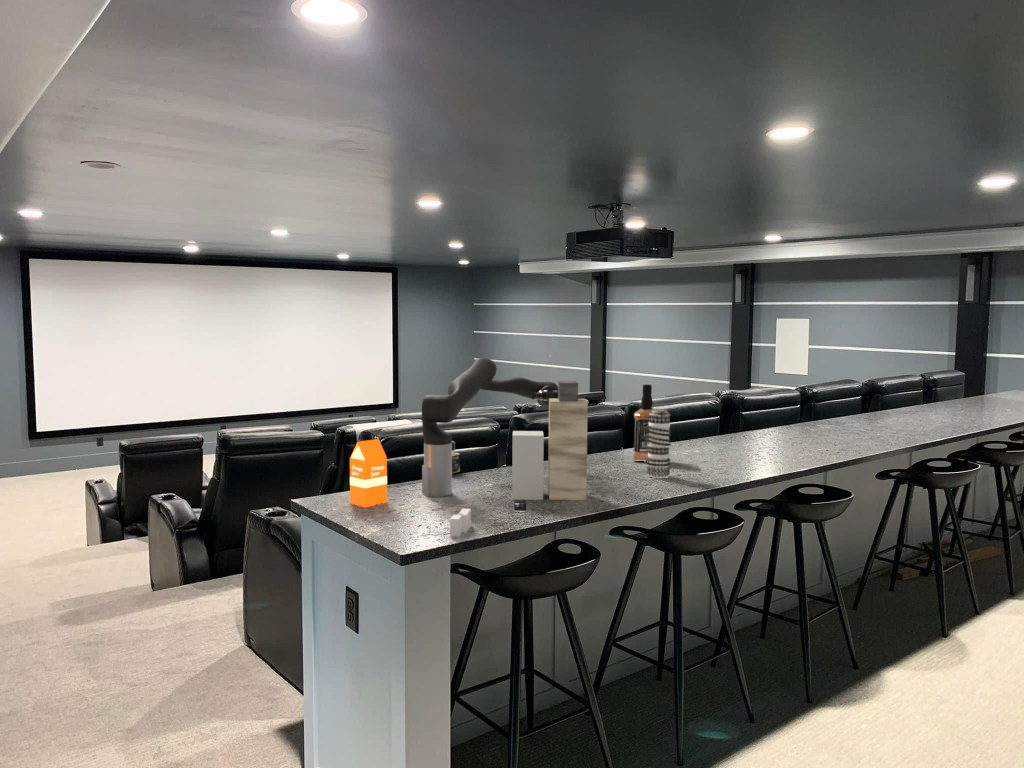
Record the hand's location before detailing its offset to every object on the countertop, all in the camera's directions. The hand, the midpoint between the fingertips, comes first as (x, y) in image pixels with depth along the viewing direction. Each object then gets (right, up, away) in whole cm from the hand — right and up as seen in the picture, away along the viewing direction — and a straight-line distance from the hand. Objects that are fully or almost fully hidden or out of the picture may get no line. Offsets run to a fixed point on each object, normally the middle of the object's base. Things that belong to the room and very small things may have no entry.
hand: (551, 395), depth 263 cm
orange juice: (-60, -34, -31) cm, 75 cm away
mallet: (+4, -1, -19) cm, 19 cm away
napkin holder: (-29, -37, -63) cm, 78 cm away
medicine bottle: (-39, -30, +18) cm, 52 cm away
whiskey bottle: (+42, -28, +45) cm, 68 cm away
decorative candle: (+41, -31, +11) cm, 52 cm away
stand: (+4, -33, -21) cm, 39 cm away
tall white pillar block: (-9, -33, -21) cm, 40 cm away
